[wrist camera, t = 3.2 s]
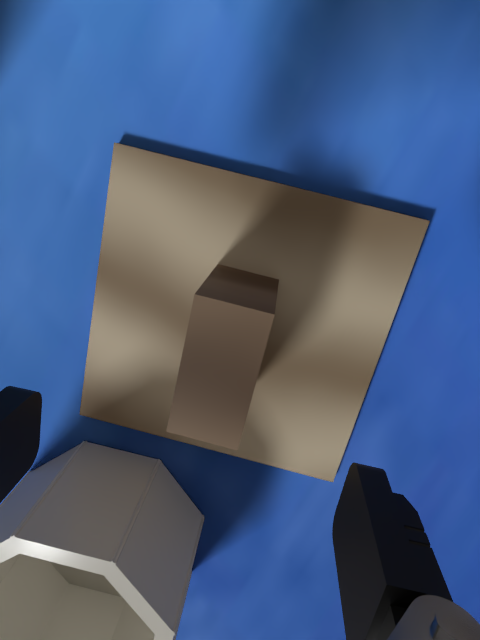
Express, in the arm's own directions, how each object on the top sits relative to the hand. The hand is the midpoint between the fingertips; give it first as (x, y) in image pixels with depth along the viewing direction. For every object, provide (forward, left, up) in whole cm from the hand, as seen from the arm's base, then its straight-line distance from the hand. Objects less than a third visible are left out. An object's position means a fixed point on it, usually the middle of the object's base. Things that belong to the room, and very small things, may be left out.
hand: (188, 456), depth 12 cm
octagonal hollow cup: (+11, -4, -8) cm, 15 cm away
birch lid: (-1, 0, -9) cm, 9 cm away
